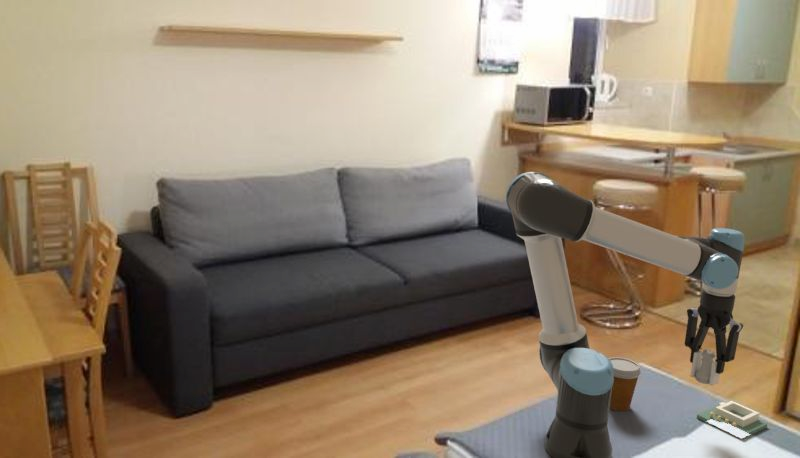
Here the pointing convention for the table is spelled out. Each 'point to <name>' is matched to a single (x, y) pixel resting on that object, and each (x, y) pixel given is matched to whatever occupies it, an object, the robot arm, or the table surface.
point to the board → (735, 416)
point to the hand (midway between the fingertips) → (704, 379)
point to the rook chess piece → (705, 367)
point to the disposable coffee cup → (623, 382)
